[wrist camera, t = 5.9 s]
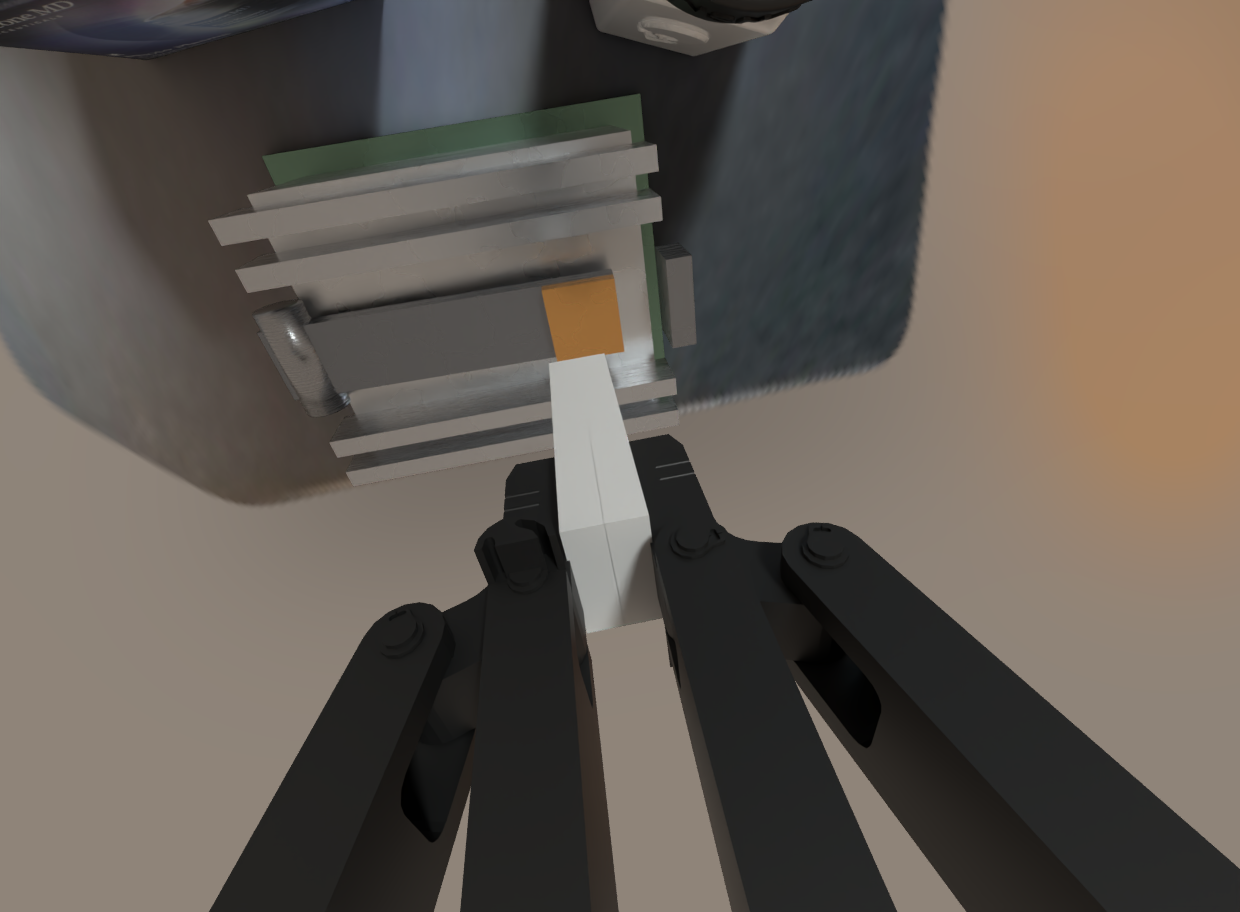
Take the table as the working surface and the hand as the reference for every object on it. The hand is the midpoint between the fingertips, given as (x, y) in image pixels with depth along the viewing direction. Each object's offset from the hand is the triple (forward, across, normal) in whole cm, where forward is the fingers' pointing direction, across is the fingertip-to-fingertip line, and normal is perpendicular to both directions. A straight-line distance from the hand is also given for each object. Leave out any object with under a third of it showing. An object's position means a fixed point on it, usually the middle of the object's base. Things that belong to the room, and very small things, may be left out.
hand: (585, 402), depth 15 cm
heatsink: (+16, -4, -1) cm, 16 cm away
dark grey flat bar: (+9, -5, 0) cm, 11 cm away
